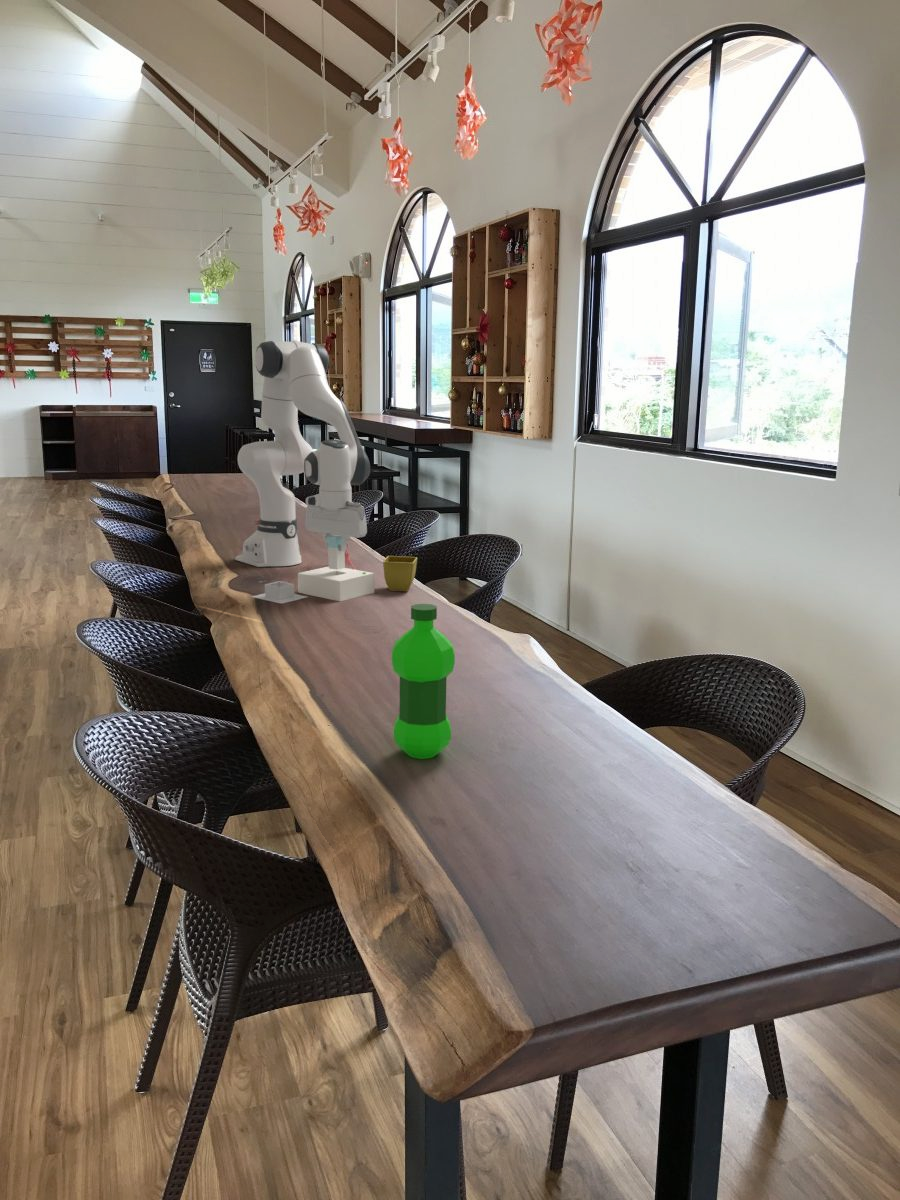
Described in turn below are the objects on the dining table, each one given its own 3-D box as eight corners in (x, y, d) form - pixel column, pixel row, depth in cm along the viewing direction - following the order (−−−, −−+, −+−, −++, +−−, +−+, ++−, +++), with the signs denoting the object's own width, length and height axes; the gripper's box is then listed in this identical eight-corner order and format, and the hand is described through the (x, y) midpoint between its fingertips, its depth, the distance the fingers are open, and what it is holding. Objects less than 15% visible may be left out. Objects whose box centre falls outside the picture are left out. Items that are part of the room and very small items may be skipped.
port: (298, 594, 267) (297, 571, 266) (332, 585, 278) (332, 564, 277) (340, 603, 258) (340, 579, 256) (374, 594, 269) (374, 571, 267)
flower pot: (417, 587, 279) (417, 556, 276) (413, 593, 270) (413, 562, 268) (387, 585, 279) (387, 555, 277) (382, 592, 271) (382, 561, 269)
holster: (250, 598, 261) (250, 584, 260) (277, 592, 269) (277, 578, 268) (281, 605, 254) (281, 590, 253) (308, 598, 262) (308, 584, 261)
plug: (328, 568, 266) (327, 536, 264) (336, 566, 268) (335, 535, 266) (337, 569, 264) (336, 537, 262) (345, 567, 266) (343, 535, 264)
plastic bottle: (451, 740, 164) (453, 599, 158) (453, 765, 154) (456, 615, 148) (392, 740, 164) (393, 598, 158) (391, 765, 154) (391, 614, 148)
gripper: (371, 502, 258) (372, 552, 261) (317, 496, 270) (318, 544, 273) (356, 504, 253) (356, 556, 257) (301, 498, 265) (302, 547, 268)
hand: (336, 549), depth 265 cm, fingers closed on plug, 3 cm apart
